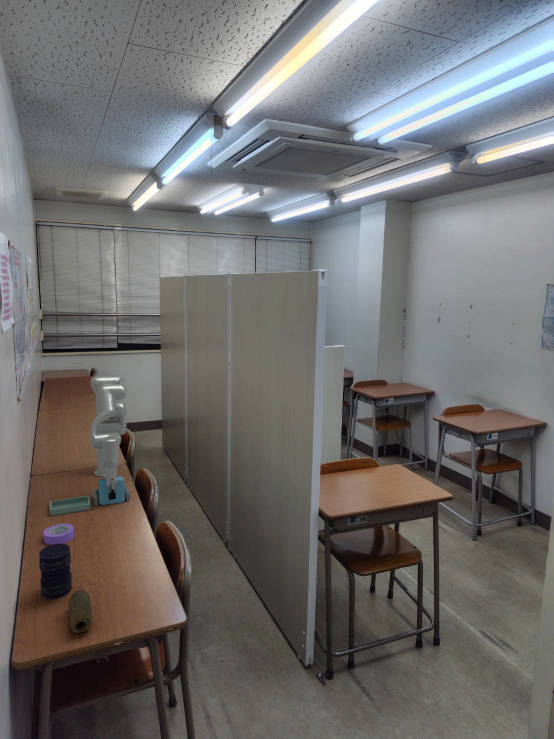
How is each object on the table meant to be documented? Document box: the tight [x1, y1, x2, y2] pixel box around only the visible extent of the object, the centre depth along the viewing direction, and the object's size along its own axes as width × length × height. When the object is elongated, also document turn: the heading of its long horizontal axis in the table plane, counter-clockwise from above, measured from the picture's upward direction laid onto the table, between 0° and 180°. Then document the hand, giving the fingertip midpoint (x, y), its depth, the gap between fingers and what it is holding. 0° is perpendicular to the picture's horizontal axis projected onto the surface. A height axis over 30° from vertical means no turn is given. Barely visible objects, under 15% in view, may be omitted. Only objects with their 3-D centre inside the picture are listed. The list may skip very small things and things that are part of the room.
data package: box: [97, 476, 126, 506], centre depth 233 cm, size 12×4×12 cm, turn 113°
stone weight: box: [68, 589, 93, 634], centre depth 149 cm, size 15×7×7 cm, turn 28°
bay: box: [92, 484, 131, 507], centre depth 237 cm, size 12×16×4 cm
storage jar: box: [38, 543, 73, 600], centre depth 162 cm, size 10×10×15 cm
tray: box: [49, 495, 92, 517], centre depth 226 cm, size 11×18×3 cm, turn 115°
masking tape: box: [43, 523, 75, 546], centre depth 199 cm, size 12×12×4 cm
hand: (111, 496), depth 234 cm, fingers closed on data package, 4 cm apart
